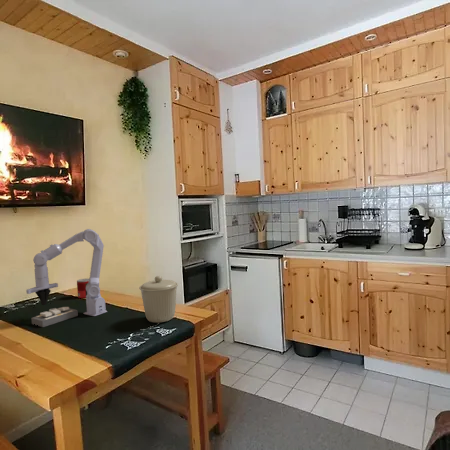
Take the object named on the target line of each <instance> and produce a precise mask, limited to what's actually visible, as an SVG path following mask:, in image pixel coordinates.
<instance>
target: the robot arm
mask: <svg viewBox="0 0 450 450" xmlns="http://www.w3.org/2000/svg"><path fill="white" fill-rule="evenodd" d="M84 240H85V242H87V243H89V244H90V245H91V246H92V247H93V252H92V259H91V266H90V273H89V278H88V279H89V282H88V284H87V285H86V291H87V295H86V298H85V303H86V311H85V312H83V314H84V315H87V316H92V317H96V316H99V315H102V314H105V313H108V311H107V309H106V308H107V307H106V300H105V298H104V297H102V295H101V288H100V276H101V267H102V260H103V256H104V255H103V254H104V247H105V245H104V243H103V241H102V239H101V237H100V235H99V233H97V232H96V231H95V230H93V229H90V228H86V229H85V230H82V231H80V232H78V233H76V234H74V235H72V236H71V237H69V238H68V239H66V240H65V241H63V242H61V243H60V244H57V243H54V244H49V246H48V247H47V248H45V249H44V250H40V252H39V253H36V254H35V255H34V257H33V263H34V279H35V280H34V281H35V286H34V287H31V288H26V290H25V291H26V294H27V295H30V294H33V293H35V294H36V295H37V297H38V299H39V301H40V304H41V306H47V304H48V303H47V302H48V300H49V299H48V298H49V296H50V293H51V291H52V290H51V289H55V288H58V287H59V283H58V282H54V283H49V282H50V280H49V270H48V264H47V263H48V261H52V260H53V259H54V258H56V257H58V256H60V255H62V253H63V250H65V249H67V248H69V247H70V246H72V245H74V244H75V243H78V242H80V243H81V242H84Z"/></svg>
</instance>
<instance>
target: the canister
mask: <svg viewBox="0 0 450 450" xmlns="http://www.w3.org/2000/svg"><path fill="white" fill-rule="evenodd" d="M178 285H179V283H178V282H176V281H174V280H171V279H163V277H162V276H161V275H156V276H155V277H154V280H151V281H150V280H149V281H146V282H144V283H142V285H140V286H139V290H140V292H141V293H140V294H141V298H142V305H143V310H144V314H145V317H146V319H147V321H149V322H150V323H159V324H160V323H166V322H168V321H170V320H172V319H173V318H174V317H175V313H176V303H177V287H178Z"/></svg>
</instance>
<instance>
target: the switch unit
mask: <svg viewBox="0 0 450 450" xmlns="http://www.w3.org/2000/svg"><path fill="white" fill-rule="evenodd" d="M78 315H79V314H78V310H77V309H74V308H71V307H69V309H68V310H65V311H61V313H59V314H56V315H54V314H52V315H51V316H47V317H45V316H41V315H40V314H39V315H36V316H34V317H31V325H34V324H35V325H34V326H37V325H38V327H41V328H45V327H48V326H51V325H55V324H57V323H60V322H63V321H67V320H69V319H72V318H76V317H78Z"/></svg>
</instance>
